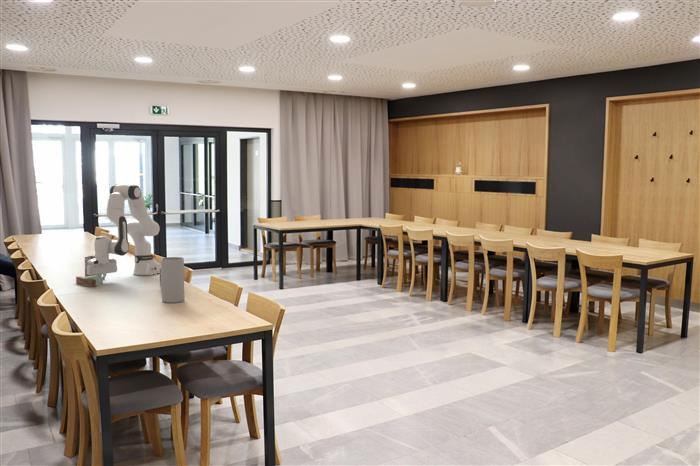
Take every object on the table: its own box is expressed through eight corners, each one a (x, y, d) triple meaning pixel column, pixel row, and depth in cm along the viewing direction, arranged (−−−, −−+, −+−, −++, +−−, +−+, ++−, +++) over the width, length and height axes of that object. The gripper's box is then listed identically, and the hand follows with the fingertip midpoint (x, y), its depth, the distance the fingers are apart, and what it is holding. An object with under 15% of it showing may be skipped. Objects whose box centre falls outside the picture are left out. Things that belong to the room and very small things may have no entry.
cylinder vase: (172, 304, 343) (171, 260, 341) (157, 301, 350) (156, 258, 348) (188, 300, 354) (188, 258, 352) (174, 297, 361) (173, 256, 358)
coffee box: (93, 280, 413) (92, 257, 411) (84, 280, 414) (84, 256, 413) (101, 278, 422) (100, 255, 420) (92, 278, 423) (92, 255, 422)
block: (96, 282, 407) (96, 275, 406) (102, 284, 402) (102, 276, 401) (85, 284, 400) (84, 276, 400) (91, 285, 395) (91, 278, 395)
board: (80, 282, 404) (80, 276, 404) (96, 286, 392) (95, 279, 391) (76, 283, 402) (76, 276, 401) (91, 287, 389) (91, 280, 389)
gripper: (113, 257, 414) (114, 277, 415) (85, 261, 398) (85, 282, 400) (118, 258, 410) (119, 278, 412) (89, 262, 394) (90, 283, 396)
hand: (102, 280), depth 405 cm, fingers closed
